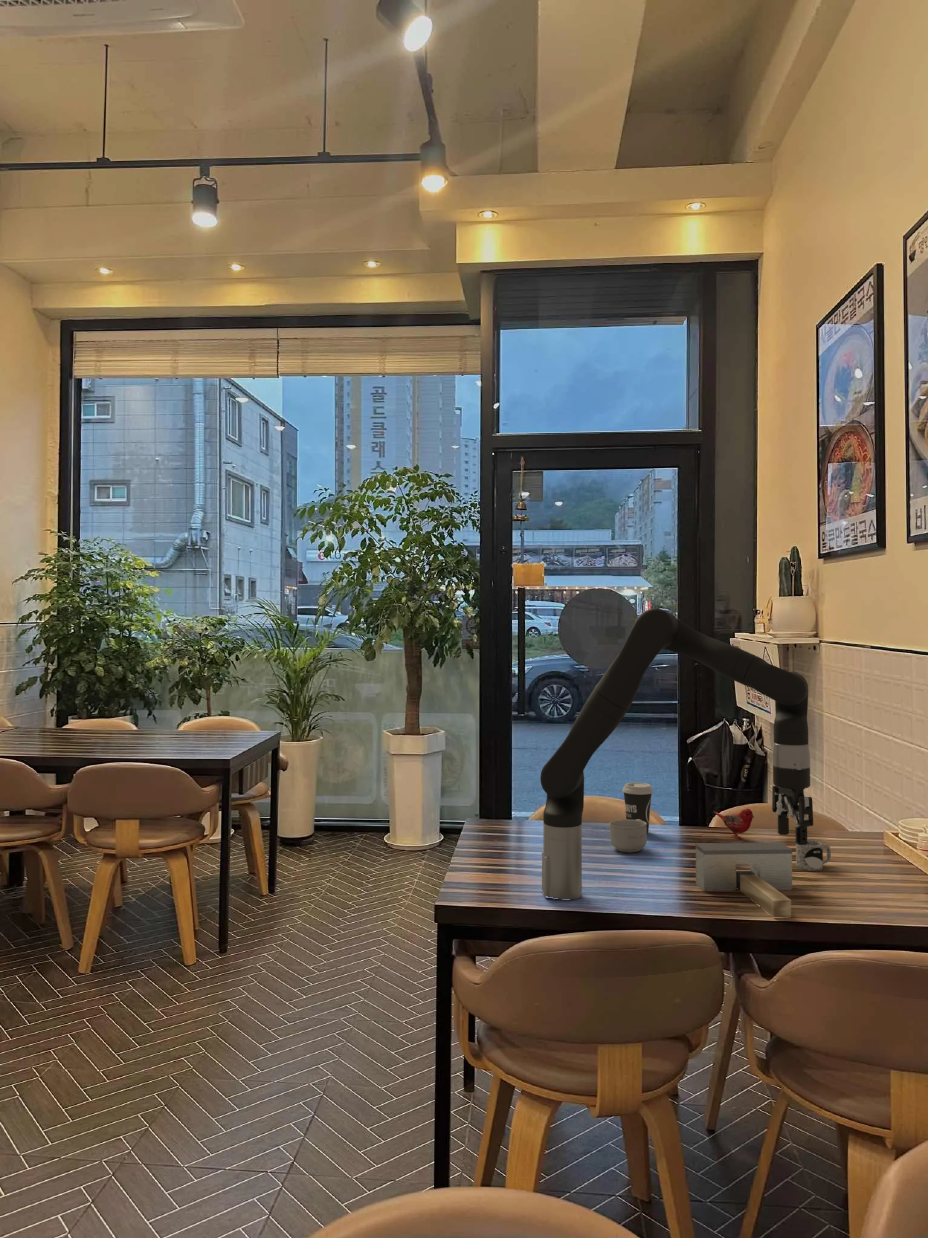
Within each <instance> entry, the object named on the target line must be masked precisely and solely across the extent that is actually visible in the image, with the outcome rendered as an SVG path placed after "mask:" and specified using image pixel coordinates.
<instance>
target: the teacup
mask: <svg viewBox="0 0 928 1238" xmlns="http://www.w3.org/2000/svg"><path fill="white" fill-rule="evenodd" d="M646 825H647V823H646V822H644V821H642V820H640V819H636V820H629V819H628V820H626V819H617V820H612V821H609V823H608V826H609V839H610V843H611V845H612V847H614V848H615V849H616V850H617V851H618V852H621V853H636V852H640V851H641V850H642V849H643V848H644V847H646V844H647V841H648V840H647V839H648V834H647V829H646Z"/></svg>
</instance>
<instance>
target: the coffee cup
mask: <svg viewBox="0 0 928 1238" xmlns="http://www.w3.org/2000/svg"><path fill="white" fill-rule="evenodd" d="M621 791H622V793H623V797H624V798H623V799H624V808H625V809H624V810H625V820H628V819H629V820H636V819H640V820H642V821H644V822H646V823H647V825H646V829H647V835H648V834H649V831H650V830H649V829H650V828H649V827H650V818H651V817H650V815H651V804H652V794H653V793H654V790H653V788H652V786H651V784H649V783H645V782H627V783H626V782H625V784H624V786H623V788H622V790H621Z"/></svg>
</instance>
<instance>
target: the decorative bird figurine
mask: <svg viewBox="0 0 928 1238" xmlns="http://www.w3.org/2000/svg"><path fill="white" fill-rule="evenodd" d="M713 813H714V814H715V815H716V816H718V817H719V818H720V819H721V820H722V821H723V824H724V825H725V827H727V828H728V829H729V830H730V831H731V832H732V833H733V835H732V837H734V838H737V839H738V840H745V838H743V837H741V836H739V834H744V833H746V832H747V831H748V830H749V829H750V827H751V825H752V821H753V818H754V819H755V817H754V815H753V811H752V810H751V809H750V808H745V809H742V810H741V811H740V812H739V813H731V814H727V815H724V814H721V813H719V812H717V811H715V810H713Z"/></svg>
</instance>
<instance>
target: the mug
mask: <svg viewBox="0 0 928 1238" xmlns="http://www.w3.org/2000/svg"><path fill="white" fill-rule="evenodd" d="M824 850H825V851H826V857H825V858H824ZM831 852H832V850H831V846H830V845H829V844H824V843H822V842H821V841H818V840H815V839H814V840H812V839H807V844H806V845H798V844H796V843H795V867H796V868H797V869H799V870H803V871H807V872H808V871H809V872H820V871H823V870H824V865H825V864H827V863H829V862H830V861H831V855H832V853H831ZM822 869H823V870H822ZM819 870H820V871H819Z"/></svg>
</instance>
